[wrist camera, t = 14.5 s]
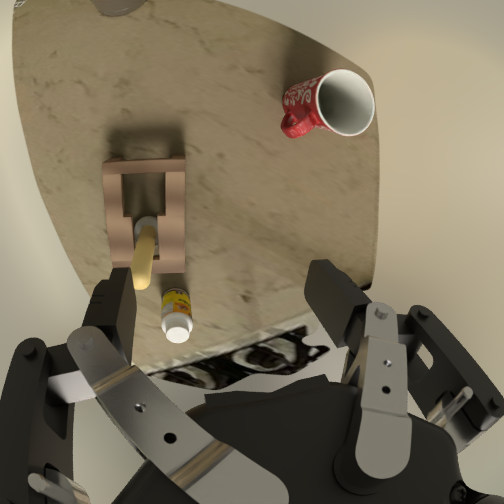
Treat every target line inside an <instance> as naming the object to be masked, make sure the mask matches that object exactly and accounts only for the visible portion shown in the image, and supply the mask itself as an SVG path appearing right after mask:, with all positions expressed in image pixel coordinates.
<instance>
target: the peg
mask: <svg viewBox="0 0 504 504" xmlns="http://www.w3.org/2000/svg"><path fill="white" fill-rule="evenodd" d="M134 236H135V239H136V240H137V244H136V248H135V251H134V255H133V259H132V262H131V266H130V268H131V271H132V278H133V284H134V289H137V290H142V289H145V288H147V287H148V285H149V283H150V276H151V268H152V261H153V254H154V247H155V245H156V244H158V243H159V238H158V219H157V218H155V217H153V216H145V217H142V218H141V219H139V220H138V222H137V223H136V225H135V228H134Z"/></svg>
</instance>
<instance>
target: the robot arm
mask: <svg viewBox="0 0 504 504" xmlns="http://www.w3.org/2000/svg"><path fill="white" fill-rule="evenodd" d="M91 2H92V3H93V4H94V5H95V7H96V8H97V9H98V10H99V12H101V13H102V14H104V15H106V16H121V15H125V14H128V13H130V12H132V11H134V10H136V9H137V8H139V7H140V6H141V5H143V4H144V3H145V2H146V0H91ZM304 295H305V299H306V301H307V303H308V304H309V306H310V307H311V309H312V310H313V312H314V313H315V315H316V316H317V318H318V319H319V321H320V322H321V324H322V325H323V327H324V328H325V330H326V331H327V333H328V334H329V336H330V338H331V339H332V341H333V342H334V344H335V345H336V347H337V348H340V347H344V346H348V347H349V349H348V351H347V354H346V359H345V364H344V369H343V374H342V378H341V383H338V382H329V381H328V379H327V377H326V375H325V374H323V375H319V376H314V377H311V378H306V379H301V380H298V381H295V382H294V383H291V384H289V385H287V386H285V387H283V388H281V389H278V390H276V391H274V392H270V393H266V392H247V391H232V392H223V393H213V394H205V395H204V396H205V403H204V404H201V405H198V406H196V407H194V408H192V409H190V410H188V411H187V412H185V413H184V412H183V411H182V410H181V409H179V408H178V407H177V406H176V405H175V404H174V403H173V402H172V401H171V400H170V399H169V398H168V397H167V396H165V394H164V393H163V392H162V391H161V390H160V389H159V388H158V387H157V386H156V385H155V384H154V383H153V382H152V381H151V380H150V379H149V378H148V377H147V376H146V375H145V374H144V373H143V372H142V371H141V370H140V369H139V368H138V367H137V366H136V365H133V366H131V359H132V347H133V337H134V328H135V319H136V310H137V305H136V296H135V290H134V284H133V278H132V271H131V268H130V267H116V268H113V269H112V272H111V275H110V278H109V280H101V281H100V282H99V283H98V284H97V285H96V286H95V288H94V291H93V294H92V297H91V299H90V304H89V305H88V308H87V311H86V314H85V317H84V320H83V323H82V327H80V328H78V329H76V330H74V331H73V332H72V333H71V334H70V335H69V337H68V339H67V343H64V344H61V345H57V346H52V347H48V348H47V347H46V345H45V343H44V341H42V340H41V339H39V338H28V339H26V340H24V341H22V342H21V343H20V344H19V345H18V346H17V348H16V349H15V352H14V355H13V358H12V361H11V364H10V367H9V370H8V373H7V377H6V380H5V384H4V388H3V391H2V395H1V400H0V504H91V503H90V499H89V496H88V494H87V492H86V491H85V490H84V489H83V487H82V486H80V485H79V484H77V483H76V482H74V480H73V421H74V406H75V402H78V401H82V400H86V399H90V398H95V399H96V400H97V402H98V403H99V404H100V406H101V407H102V409H103V410H104V411H105V413H106V414H107V415H108V417H109V418H110V419H111V421H112V422H113V423H114V425H115V426H116V427H117V428H118V430H119V431H120V432H121V434H122V435H123V436H124V437H125V439H126V440H127V441H128V442H129V443H130V445H131V446H132V447H133V448H134V449H135V451H136V452H137V453H138V454H139V455H140V456H141V457H142V458H143V459H144V460H145V462H144V463H143V464H142V466H141V467H140V468H139V469H138V471H137V472H136V473H135V475H134V476H133V477H132V479H131V480H130V481H129V482H128V484H127V485H126V486H125V488H124V489H123V490H122V491H121V492H120V494H119V495H118V496H117V497H116V499H115V500H114V501H113V502H112V503H111V504H504V498H503V497H501V496H497V495H489V494H484V493H480V492H477V491H474V490H472V489H470V488H469V487H468V486H466V484H465V483H464V481H463V479H462V476H461V473H460V469H459V464H458V456H457V454H458V453H459V452H461V451H462V450H464V449H465V448H466V447H468V446H469V445H470V444H471V443H473V442H474V441H475V440H476V439H478V437H480V436H481V435H482V434H484V433H485V432H486V431H487V430H488V429H489V428H490V427H492V426H493V425H494V424H495V423H496V422H497V421H498V420H499V419H500V418H501V417H502V416H503V415H504V398H503V396H502V395H501V394H500V392H499V391H498V390H497V388H496V387H495V386H494V384H493V383H492V382H491V380H490V379H489V378H488V376H487V375H486V374H485V372H484V371H483V370H482V369H481V367H480V366H479V365H478V364H477V363H476V361H475V360H474V359H473V358H472V356H471V355H470V354H469V353H468V352H467V350H466V349H465V348H464V347H463V346H462V345H461V343H460V342H459V341H458V340H457V339H456V338H455V337H454V335H453V334H452V333H451V332H450V331H449V330H448V329H447V328H446V327H445V325H444V324H443V323H442V322H441V321H440V320H439V319H438V318H437V317H436V316H435V315H434V314H433V312H432V311H430V310H429V309H428V308H426V307H423V306H420V305H414V306H412V307H411V308H410V310H409V312H408V314H407V315H402V314H396V313H395V311H394V310H393V309H392V308H391V307H389V306H388V305H386V304H384V303H380V302H372V301H371V300H370V299H369V298H368V297H367V296H366V294H365V293H364V292H363V291H362V290H361V289H360V288H359V287H357V285H356V284H355V283H354V282H352V279H351V278H350V277H349V276H348V275H347V274H345V273H344V272H342V271H340V270H339V269H337V268H336V267H335V266H334V265H333V264H332V263H331V262H330V261H329V260H328V259H323V260H312V261H311V263H310V266H309V270H308V275H307V279H306V283H305V288H304ZM422 344H424V346H425V347H426V348H427V349H428V351H429V352H430V353H431V355H432V356H433V361H434V362H433V365H432V367H431V368H430V370H429V369H428V367H427V366H426V365H425V364H424V362H423V361H422V359H421V358H420V357H419V355H418V354H417V352H418V350H419V349H420V347H421V346H422ZM407 389H408V391H409V392H410V394H411V395H412V397H413V399H414V400H415V402H416V403H417V405H418V406H419V408H420V410H421V411H422V413H423V415H424V416H425V418H426V420H427V421H426V420H424V419H421V418H419V417H417V416H415V415H412V414H410V413H408V412H407Z"/></svg>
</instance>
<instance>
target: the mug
mask: <svg viewBox="0 0 504 504" xmlns="http://www.w3.org/2000/svg"><path fill="white" fill-rule="evenodd" d="M283 109H284V111H285V114H286V115H285V116H284V118H283V120H282V123H281V129H282V131H283V132H284V133H285V135H286V136H287V137H289V138H298V137H301V136H303V135H305V134H306V133H308V132H309V131H310V130H311V129H313V128H314V127H316V128H321V129H325V130H329V131H333V132H335V133H337V134H340V135H343V136H355V135H358V134H360V133H362V132H363V131H364V130H366V128H367V127H368V126H369V125H370V123H371V121H372V119H373V116H374V109H375V105H374V97H373V94H372V91H371V89H370V87H369V86H368V84H367V83H366V81H365V80H364V79H363V78H362V77H361V76H359V75H358V74H357V73H355V72H353V71H350V70H347V69H335V70H331V71H329V72H328V73H326V74H324V75H321V76H318V77H315V78H313V79H309V80H307V81H304V82H301V83H298V84H295V85H293V86H291V87H290V88H289V89H288V90H287V91H286V93H285V94H284V97H283ZM294 122H295V123H296V124H294V125H293V123H294Z"/></svg>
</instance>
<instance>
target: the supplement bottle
mask: <svg viewBox="0 0 504 504" xmlns="http://www.w3.org/2000/svg"><path fill="white" fill-rule="evenodd" d="M161 326H162V329H163V331H164V332H165V333H166V337H167V338H168V340H170V341H171V342H174V343H182V342H184V341H186V340H187V339H188V338H189V333H190V332H191V330H192V327H193V321H192V313H191V304H190V298H189V295H188V294H187V293H186V292H185V291H184V290H181V289H177V288H175V289H170V290H168V291H166V292H165V293H164V295H163V297H162V310H161Z"/></svg>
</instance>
